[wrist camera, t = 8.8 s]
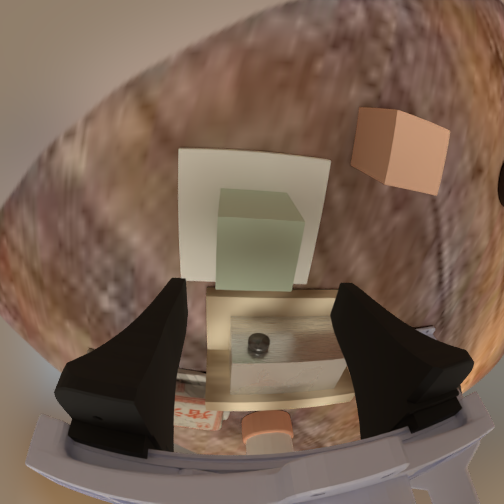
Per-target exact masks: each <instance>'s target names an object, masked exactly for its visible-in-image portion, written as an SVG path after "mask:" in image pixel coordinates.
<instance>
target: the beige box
mask: <svg viewBox="0 0 504 504" xmlns="http://www.w3.org/2000/svg"><path fill="white" fill-rule="evenodd" d="M337 292H338V290H298V289H292V291H291V292H287V291H244V290H216V289H215V287H207V292H206V318H207V368H206V393H205V405H206V410H208V411H264V410H282V409H295V408H306V407H315V406H323V405H330V404H337V403H343V402H349V401H351V400H352V398H353V397H354V395H355V392H354V388H353V383H352V379H351V377H350V374H349V371H348V369H347V366H346V368H345V370H344V371H343V373H342V375H341V377H340V379H339V381H338V382H337V384H336V386H335V388H334V389H326V390H317V391H306V392H294V393H279V394H248V395H230V375H229V337H230V318H231V316H260V317H290V316H330V313H331V311H332V308H333V305H334V302H335V299H336V296H337Z"/></svg>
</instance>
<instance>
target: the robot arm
mask: <svg viewBox="0 0 504 504" xmlns="http://www.w3.org/2000/svg"><path fill="white" fill-rule="evenodd" d="M187 317H188V308H187V292H186V278H172V279H170V281H169V282H168V283H167V285H166V286H165V287H164V288H163V290H162V291H161V292H160V293H159V295H158V296H157V297H156V298H155V299H154V300H153V302H152V303H151V304H150V305H149V306H148V307H147V308H146V309H145V310H144V311H143V312H142V313H141V315H140V316H139V317H138V318H137V319H135V320H134V321H133V322H132V323H131V324H130V325H129V326H128V327H127V328H125V329H124V330H123V331H122V332H120V333H119V334H118V335H116V336H115V337H114V338H112V339H111V340H109V341H108V342H106V343H105V344H103V345H102V346H100V347H98V348H97V349H95V350H93V351H91V352H89V353H88V354H86V355H83V356H81V357H79V358H77V359H75V360H73V361H70V362H68V363H67V364H66V366H65V367H64V369H63V371H62V374H61V376H60V379H59V381H58V384H57V386H56V389H55V392H54V393H55V397H56V399H57V401H58V402H59V404H60V405H61V406H62V407H63V408H64V410H65V411H66V412H67V413H68V414H69V415H70V416H71V418H72V421H71V425H69V424H67V423H66V422H64V421H61V420H59V419H56V418H53V417H50V416H48V415H45V414H40V415H39V418H38V421H37V424H36V427H35V430H34V433H33V437H32V440H31V443H30V447H29V450H28V454H27V458H26V461H25V464H26V465H27V466H28V467H30V468H31V469H33V470H34V471H36V472H38V473H39V474H41V475H43V476H45V477H46V478H48V479H50V480H52V481H54V482H55V483H57V484H60V485H62V486H64V487H67V488H69V489H72V490H75V491H78V492H80V493H83V494H85V495H88V496H91V497H94V498H97V499H100V500H103V501H107V502H110V503H114V504H416V501H415V498H414V495H413V492H412V488H414V489H423V490H427V491H428V493H429V496H430V498H431V501H432V504H480V501H479V499H478V496H477V493H476V490H475V487H474V484H473V482H472V479H471V477H470V474H469V471H468V469H467V467H468V465H469V463H470V461H471V459H472V458H473V456H474V454H475V452H476V451H477V449H478V447H479V445H480V442H481V440H480V439H481V438H483V437H484V436H485V435H486V434H488V433H489V432H490V431H491V430H492V429H493V428H494V427H495V425H494V423H493V421H492V419H491V417H490V415H489V413H488V411H487V409H486V408H485V406H484V404H483V402H482V400H481V398H480V397H479V395H478V393H477V392H474V393H472V394H470V395H468V396H465V397H464V398H463V396H462V394H461V392H460V390H459V389H458V386H459V385H460V384H461V383H462V382H463V381H464V379H465V378H466V377H467V376H468V375H469V373H470V372H471V370H472V368H473V365H474V361H473V360H472V358H471V357H470V355H469V354H468V352H467V351H466V350H464V349H460V348H457V347H454V346H451V345H448V344H445V343H443V342H440V341H438V340H437V339H436V338H435V336H434V335H433V333H434V331H435V327H434V326H432V327H425V328H419V329H414V328H412V327H411V326H409V325H407V324H406V323H404V322H403V321H401V320H400V319H398V318H397V317H395V316H394V315H393V314H391V313H390V312H389V311H387V310H386V309H385V308H383V307H382V306H381V305H380V304H378V303H377V302H376V301H375V300H373V299H372V298H371V297H370V296H368V295H367V294H366V293H365V292H363V291H362V290H361V289H360V288H358V287H357V286H356V285H354V284H353V283H340V286H339V289H338V292H337V296H336V299H335V302H334V305H333V308H332V311H331V313H330V317H331V321H332V326H333V330H334V333H335V336H336V338H337V341H338V344H339V346H340V349H341V351H342V354H343V356H344V359H345V361H346V364H347V366H348V369H349V372H350V375H351V379H352V383H353V388H354V392H355V397H356V403H357V408H358V416H359V423H360V436H361V440H358V441H354V442H349V443H345V444H340V445H335V446H329V447H324V448H318V449H311V450H304V451H296V452H287V453H276V454H261V455H203V454H188V453H177V452H174V449H173V448H174V447H173V446H174V444H173V434H174V405H175V390H176V379H177V372H178V367H179V362H180V358H181V353H182V348H183V344H184V339H185V334H186V327H187Z"/></svg>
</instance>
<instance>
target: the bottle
mask: <svg viewBox="0 0 504 504" xmlns="http://www.w3.org/2000/svg"><path fill="white" fill-rule="evenodd" d="M499 196H500V201H501V203H502V205H503V206H504V165H503V168H502V171H501V174H500V180H499Z"/></svg>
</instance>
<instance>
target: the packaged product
mask: <svg viewBox="0 0 504 504" xmlns="http://www.w3.org/2000/svg"><path fill="white" fill-rule="evenodd" d="M91 351H93V349H89V350H88V351H87V353H89V352H91ZM205 393H206V374H205V373H202V372H198V371H191V370H185V369H180V368H178V372H177V379H176V390H175V405H174V426H179V427H185V428H192V429H201V430H219V429H221V427H222V421H223V420H226V419H227V418H228V416H229V413H230V411H208V410H206V405H205Z"/></svg>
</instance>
